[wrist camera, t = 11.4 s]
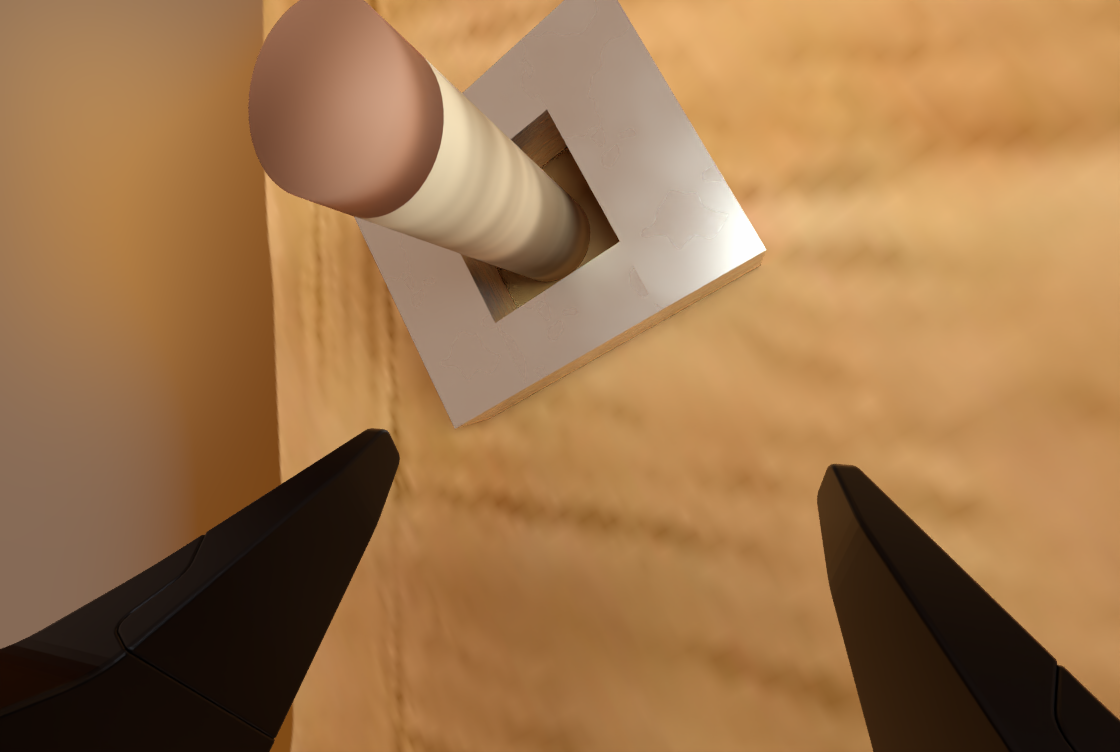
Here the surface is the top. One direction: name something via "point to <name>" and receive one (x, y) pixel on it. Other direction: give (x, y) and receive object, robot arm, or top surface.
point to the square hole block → (621, 190)
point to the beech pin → (401, 144)
